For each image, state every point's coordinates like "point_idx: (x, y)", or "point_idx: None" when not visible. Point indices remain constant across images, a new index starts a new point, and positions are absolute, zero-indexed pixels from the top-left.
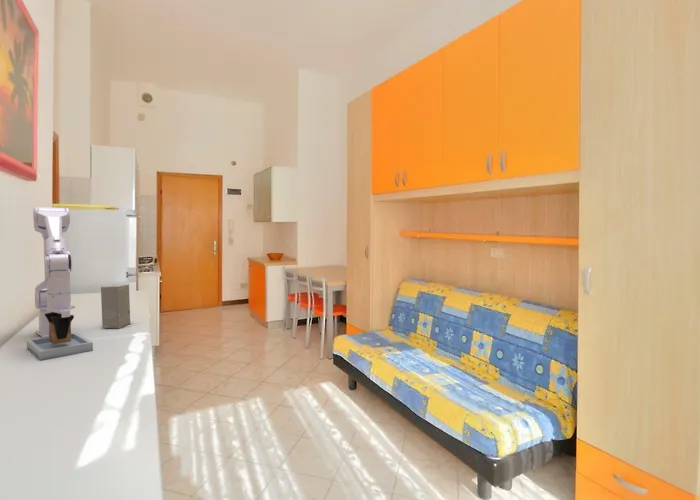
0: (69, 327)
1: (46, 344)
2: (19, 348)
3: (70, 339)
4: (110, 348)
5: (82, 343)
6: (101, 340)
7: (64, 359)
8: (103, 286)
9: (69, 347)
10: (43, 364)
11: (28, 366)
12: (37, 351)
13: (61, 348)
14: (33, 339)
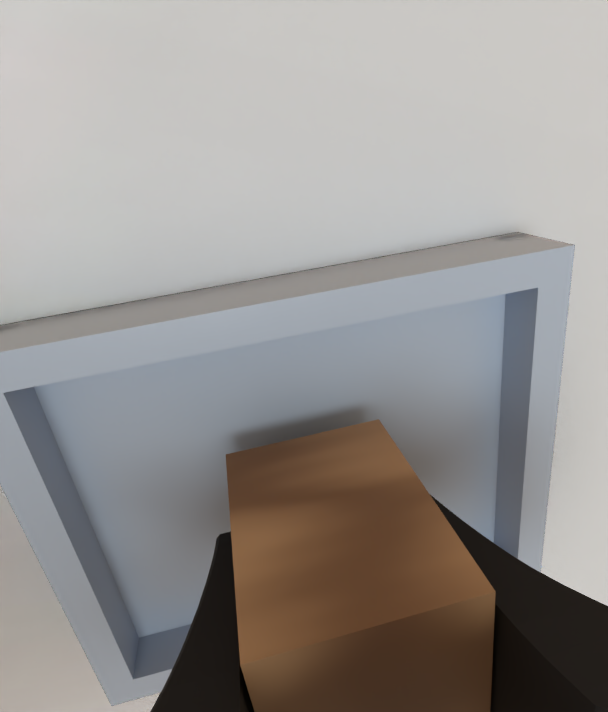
0: (452, 541)
1: (177, 558)
2: (93, 672)
3: (385, 435)
4: (571, 65)
5: (537, 335)
6: (154, 67)
7: (586, 424)
8: None
9: (549, 427)
10: (589, 516)
11: (564, 571)
12: None
13: (547, 478)
14: (104, 674)
